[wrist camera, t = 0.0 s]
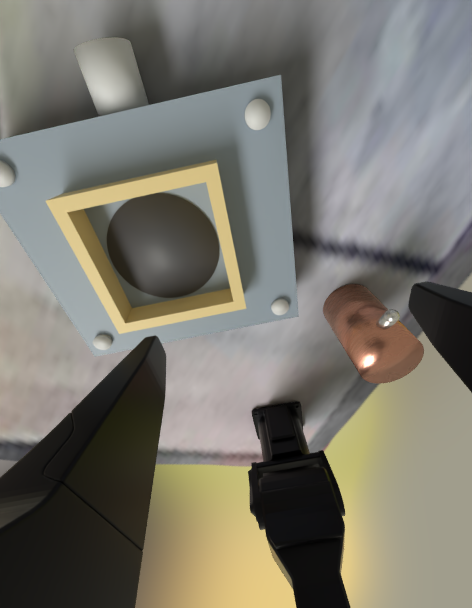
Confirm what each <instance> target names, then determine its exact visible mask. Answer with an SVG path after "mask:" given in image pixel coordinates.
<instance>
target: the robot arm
mask: <svg viewBox="0 0 472 608" xmlns="http://www.w3.org/2000/svg"><path fill="white" fill-rule="evenodd" d="M409 309H410V311H411V313H412V314H413V316H414V318H415V319H416V321H417V322H418V324H419V325H420V327H421V328H422V330H423V331H424V333H425V334H426V336H427V337H428V339H429V340H430V342H431V343H432V345H433V346H434V347H435V348H436V350H437V351H438V352H439V353H440V355H441V356H442V357H443V358H444V359H445V361H446V362H447V363H448V364H449V366H450V367H451V368H452V369H453V370H454V372H455V373H456V374H457V375H458V376H459V377H460V379H461V380H462V381H463V382H464V384H465V385H466V386H467V387H468V388H469V390H470V391H471V392H472V292H467V291H464V290H460V289H456V288H452V287H447V286H443V285H439V284H435V283H431V282H421V283H416V284H414V285H413V286H412V289H411V294H410V299H409ZM165 388H166V354H165V351H164V349H163V346H162V344H161V342H160V340H159V338H158V337H157V336H156V335H155V336H150V337H145V338H144V339H143V340H142V341H141V342H140V343H139V344H138V345H137V346H136V347H135V348H134V349H133V350H132V351H131V352H130V353H129V354H128V355H127V356H126V357H125V358H124V359H123V360H122V361H121V362H120V363H119V364H118V365H117V366H116V367H115V368H114V369H113V370H112V371H111V372H110V373H109V374H108V375H107V376H106V377H105V378H104V379H103V380H102V381H101V382H100V383H99V384H98V385H97V386H96V387H95V388H94V389H93V390H92V391H91V392H90V393H89V394H88V395H87V396H86V397H85V398H84V399H83V400H82V401H81V402H80V403H79V404H78V405H77V406H76V407H75V408H74V409H73V410H72V413H69V414H68V415H67V416H66V417H65V418H64V419H63V420H62V421H61V422H60V423H59V424H58V425H57V426H56V427H55V428H54V429H53V430H52V431H51V432H50V433H49V434H48V435H47V436H46V437H45V438H44V439H42V440H41V441H40V442H39V443H38V444H37V445H36V446H35V447H34V448H33V449H31V450H30V451H29V452H28V453H27V454H26V455H25V456H24V457H23V458H22V459H20V460H19V461H18V462H17V463H16V464H15V465H14V466H13V467H12V468H10V469H9V470H8V471H7V472H6V473H5V474H4V475H2V476H1V477H0V608H135V603H136V597H137V589H138V582H139V575H140V568H141V562H142V555H143V552H142V550H143V547H144V540H145V533H146V526H147V519H148V512H149V505H150V499H151V492H152V485H153V478H154V471H155V464H156V457H157V450H158V443H159V437H160V430H161V423H162V416H163V409H164V402H165ZM252 417H253V421H254V425H255V429H256V432H257V436H258V439H260V442H261V449H262V455H263V461H264V462H259V463H256V462H254V463H252V469H251V470H250V471H248V474H249V484H250V511H251V513H252V514H253V515H254V516H255V517H256V520H257V522H258V524H259V528H260V530H263V529H265V530H266V537H267V540H268V543H269V547H270V550H271V553H272V556H273V558H274V560H275V562H276V563H277V565H278V566H279V568H280V570H281V571H282V573H283V574H284V576H285V577H286V579H287V580H288V582H289V583H290V585H291V587H292V588H293V590H294V595H295V602H296V607H297V608H350V605H349V601H348V598H347V594H346V591H345V588H344V584H343V581H342V578H341V568H342V559H343V551H344V533H345V525H344V521H343V518H342V516H345V509H344V504H343V500H342V496H341V493H340V490H339V487H338V484H337V482H336V479H335V477H334V474H333V472H332V470H331V467H330V465H329V463H328V460H327V458H326V456H325V454H324V451H323V450H321V451H318V452H315V453H310V452H309V449H308V446H307V442H306V439H305V436H304V433H303V423H302V411H301V404H300V402H292V403H287V404H281V405H276V406H271V407H265V408H260V409H255V410H253V411H252Z"/></svg>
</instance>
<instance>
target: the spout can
mask: <svg viewBox="0 0 472 608" xmlns="http://www.w3.org/2000/svg"><path fill="white" fill-rule="evenodd" d="M323 313H324V316H325V318H326V320H327V321H328V323H329V325H330V326H331V328H332V329H333V331H334V333H335V334H336V336H337V338H338V339H339V341H340V343H341V344H342V346H343V347H344V349H345V351H346V352H347V354H348V356H349V357H350V359H351V361H352V362H353V364H354V365H355V367H356V369H357V370H358V372H359V374H360V375H361V377H362V378H363V379H364V380H366V381H368V382H371V383H387V382H392V381H395V380H397V379H400V378H402V377H404V376H405V375H407V374H409V373H410V372H411V371H412V370H413V369H415V368H416V367H417V365H418V364H419V363H420V361H421V360H422V357H423V354H424V349H423V346H422V344H421V343H420V341H419V340H418V339H417V338H416V337H415V336H414V335H413V334H412V333H411V332H410V331H409V330H408V329H407V328H406V327H405V326H404V325H403V324H402V323H401V322H400V321H399V317H400V315H399V313H398V312H397V311H396V310H393V309H390V310H388V309H387V308H386V307H385V306H384V305H383V304H382V303H381V302H380V301H379V300H378V299H377V298H376V297H375V296H374V295H373V294H372V293H371V292H370V291H369V290H368V289H367V288H366V287H364V286H362V285H359V284H349V285H345V286H342V287H340V288H338V289H336V290H335V291H334V292H332V293H331V294H330V295H329V297H328V298H327V299H326V301H325V303H324V307H323Z"/></svg>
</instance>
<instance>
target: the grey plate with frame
mask: <svg viewBox="0 0 472 608" xmlns="http://www.w3.org/2000/svg"><path fill="white" fill-rule="evenodd" d="M74 53H75V56H76V58H77V61H78V63H79V66H80V69H81V71H82V74H83V76H84V79H85V81H86V84H87V87H88V89H89V92H90V94H91V97H92V100H93V102H94V105H95V107H96V110H97V113H98V115H99V117H95V118H91V119H87V120H82V121H78V122H74V123H69V124H65V125H61V126H56V127H52V128H48V129H43V130H39V131H35V132H30V133H26V134H22V135H17V136H13V137H9V138H4V139H0V214H1V215H2V217H3V218H4V220H5V221H6V223H7V224H8V226H9V227H10V229H11V230H12V232H13V233H14V235H15V236H16V238H17V239H18V241H19V243H20V244H21V246H22V247H23V249H24V250H25V252H26V253H27V255H28V256H29V258H30V259H31V261H32V262H33V264H34V265H35V267H36V268H37V270H38V271H39V273H40V274H41V276H42V277H43V279H44V280H45V282H46V283H47V285H48V286H49V288H50V290H51V291H52V293H53V294H54V296H55V297H56V299H57V300H58V302H59V303H60V305H61V306H62V308H63V309H64V311H65V312H66V314H67V315H68V317H69V318H70V320H71V321H72V323H73V324H74V326H75V327H76V329H77V330H78V332H79V333H80V335H81V337H82V338H83V340H84V341H85V343H86V344H87V346H88V347H89V349H90V350H91V352H92V353H93V355H94V356H95V357H96V356H101V355H106V354H111V353H116V352H121V351H126V350H131V349H134V348H135V347H136V346H137V345H138V344H139V343H140V342H141V341H142V340H143V339H144V338H145V337H150V336H155V335H156V336H157V337H158V338H159V340H160V342H161V343H166V342H172V341H177V340H182V339H187V338H192V337H197V336H202V335H207V334H212V333H217V332H222V331H227V330H232V329H237V328H242V327H247V326H252V325H258V324H263V323H268V322H273V321H278V320H283V319H288V318H293V317H298V316H299V315H298V302H297V288H296V274H295V261H294V247H293V233H292V220H291V206H290V192H289V179H288V165H287V151H286V138H285V124H284V110H283V97H282V83H281V75H277V76H273V77H269V78H264V79H260V80H256V81H251V82H247V83H243V84H238V85H234V86H230V87H225V88H221V89H217V90H212V91H208V92H204V93H199V94H195V95H191V96H186V97H182V98H178V99H173V100H169V101H165V102H160V103H156V104H152V105H149V103H148V100H147V96H146V93H145V90H144V86H143V83H142V79H141V76H140V73H139V69H138V66H137V62H136V59H135V56H134V52H133V49H132V45H131V42H130V41H129V40H127V39H124V38H117V37H110V38H100V39H95V40H90V41H87V42H84V43H82V44H80V45H78V46H77V47H76V48H75V49H74Z"/></svg>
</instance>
